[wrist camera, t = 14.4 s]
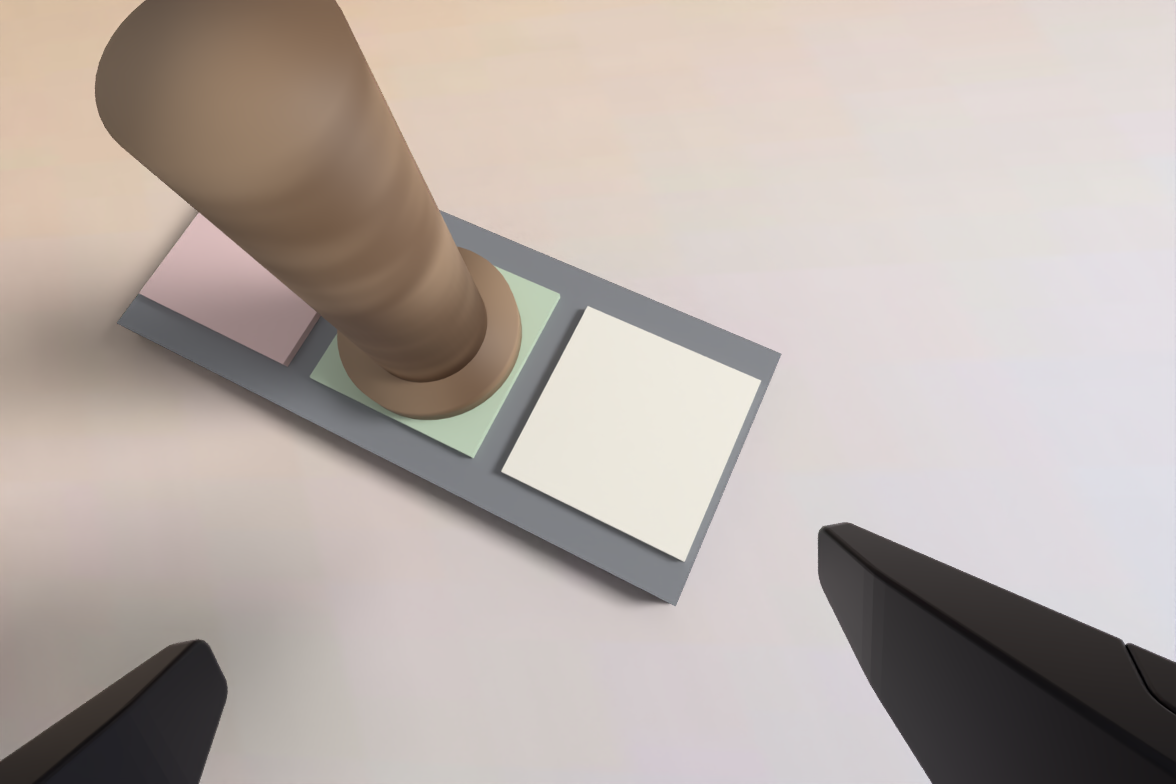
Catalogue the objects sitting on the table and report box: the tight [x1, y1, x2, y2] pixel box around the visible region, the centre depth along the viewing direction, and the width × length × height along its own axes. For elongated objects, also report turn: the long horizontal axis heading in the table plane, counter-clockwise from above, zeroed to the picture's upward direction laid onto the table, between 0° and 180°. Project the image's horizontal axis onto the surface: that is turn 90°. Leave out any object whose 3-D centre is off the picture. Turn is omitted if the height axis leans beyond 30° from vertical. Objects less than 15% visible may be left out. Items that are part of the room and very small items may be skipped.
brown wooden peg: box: [95, 0, 522, 420], centre depth 15 cm, size 6×6×12 cm
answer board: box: [117, 210, 781, 606], centre depth 21 cm, size 9×22×1 cm, turn 65°
